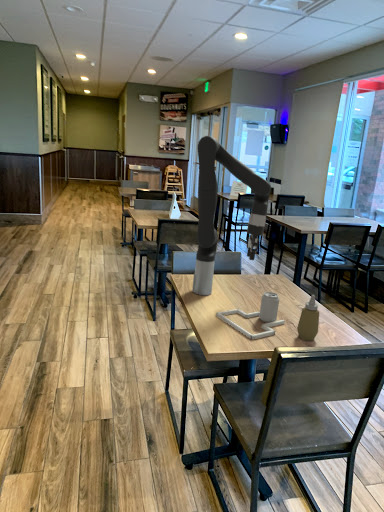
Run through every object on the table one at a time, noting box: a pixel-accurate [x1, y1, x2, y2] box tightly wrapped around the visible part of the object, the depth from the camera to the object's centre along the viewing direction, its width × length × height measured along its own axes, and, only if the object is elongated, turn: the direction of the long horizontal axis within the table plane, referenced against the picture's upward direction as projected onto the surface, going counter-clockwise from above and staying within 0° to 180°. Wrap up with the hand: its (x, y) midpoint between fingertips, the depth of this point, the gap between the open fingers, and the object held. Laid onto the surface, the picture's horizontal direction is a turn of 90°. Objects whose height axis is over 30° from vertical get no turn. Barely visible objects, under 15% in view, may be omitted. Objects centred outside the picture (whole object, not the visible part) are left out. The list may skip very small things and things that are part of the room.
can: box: [258, 291, 280, 323], centre depth 167 cm, size 8×8×12 cm
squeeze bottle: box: [296, 294, 320, 342], centre depth 151 cm, size 8×8×18 cm
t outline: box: [215, 308, 285, 340], centre depth 164 cm, size 23×24×2 cm
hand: (250, 258), depth 182 cm, fingers open, 8 cm apart
